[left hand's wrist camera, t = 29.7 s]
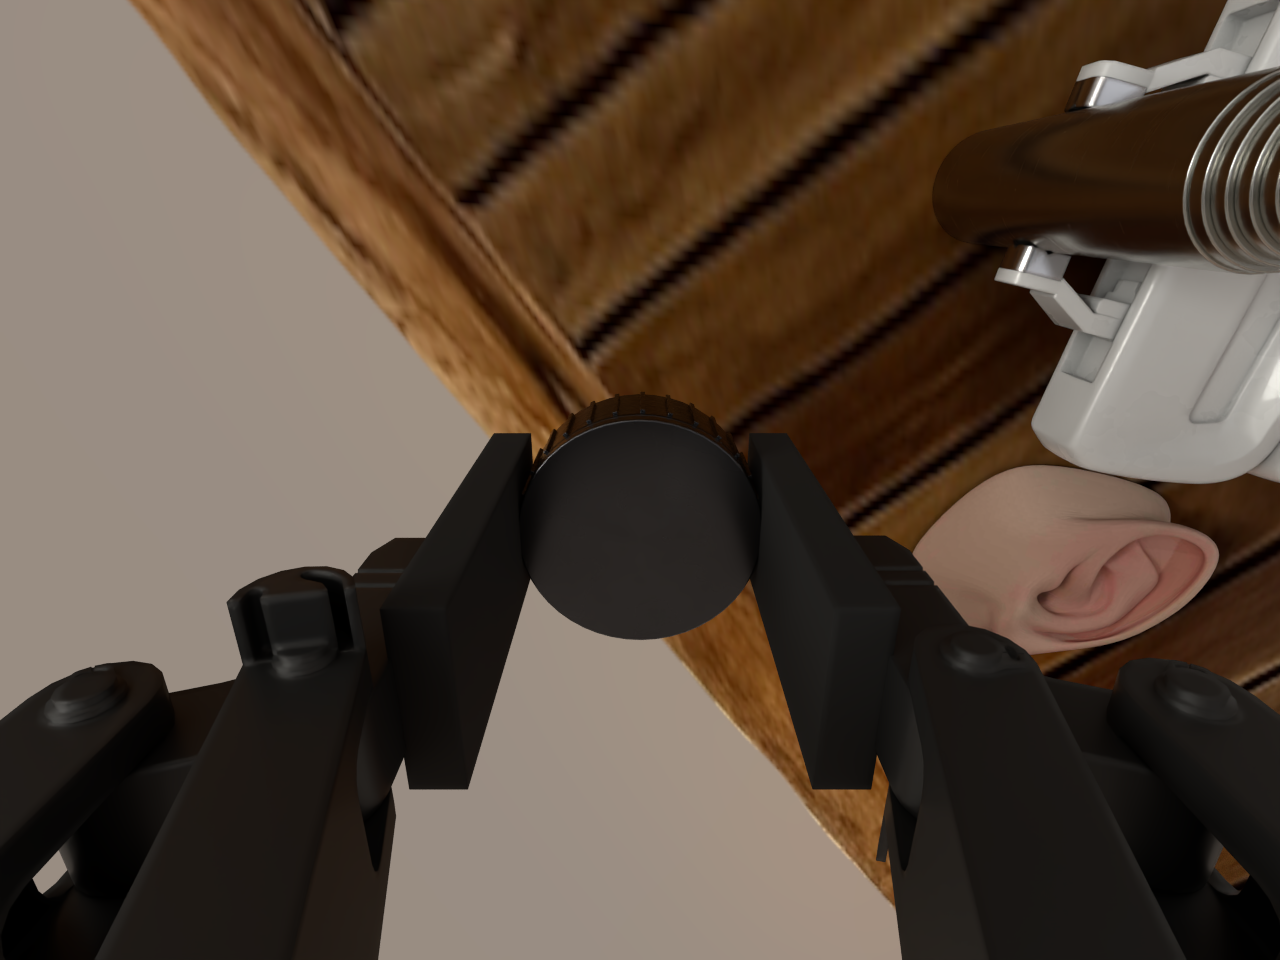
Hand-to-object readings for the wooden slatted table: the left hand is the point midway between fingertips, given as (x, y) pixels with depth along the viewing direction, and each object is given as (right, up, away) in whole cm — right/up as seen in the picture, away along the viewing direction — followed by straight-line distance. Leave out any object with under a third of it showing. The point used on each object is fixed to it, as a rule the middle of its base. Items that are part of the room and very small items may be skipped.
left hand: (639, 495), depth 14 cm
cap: (0, -1, -1) cm, 2 cm away
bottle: (+16, +14, +17) cm, 27 cm away
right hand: (+15, +12, +11) cm, 22 cm away
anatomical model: (+22, -4, +24) cm, 33 cm away
